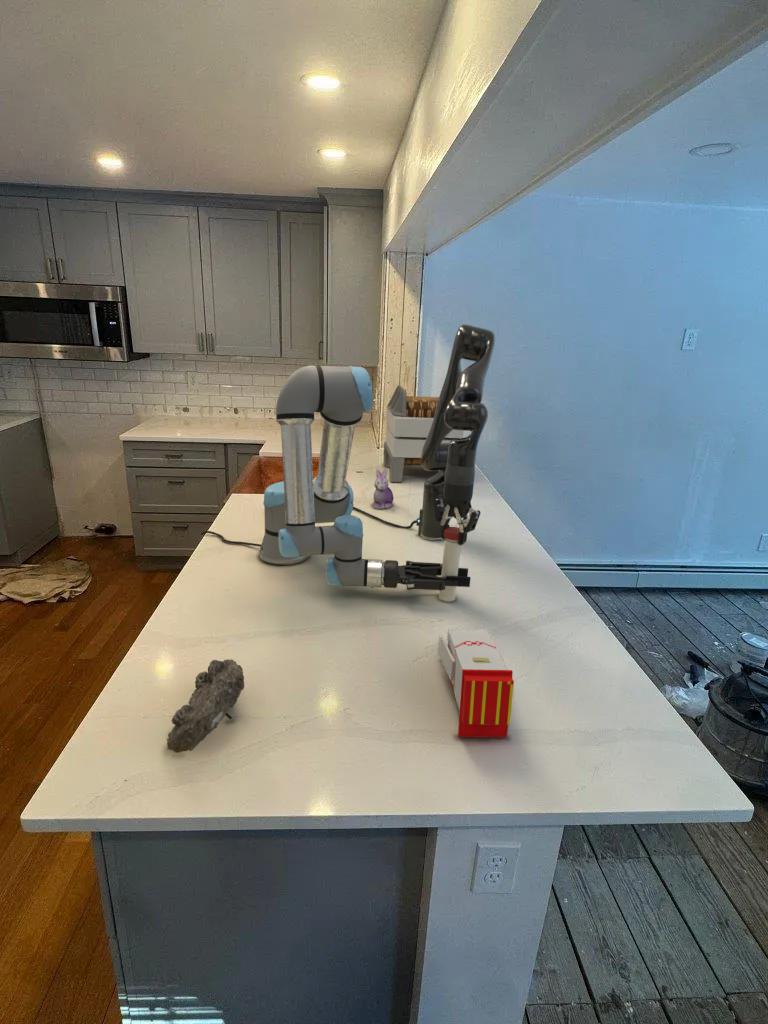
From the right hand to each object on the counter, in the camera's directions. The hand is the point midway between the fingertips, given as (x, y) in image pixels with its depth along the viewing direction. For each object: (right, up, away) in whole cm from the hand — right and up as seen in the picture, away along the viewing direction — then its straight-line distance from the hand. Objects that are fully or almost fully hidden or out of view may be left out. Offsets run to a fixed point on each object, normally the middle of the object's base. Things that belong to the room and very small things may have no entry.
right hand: (453, 540), depth 151 cm
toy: (0, -30, -32) cm, 44 cm away
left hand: (+5, -10, +4) cm, 12 cm away
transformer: (-1, +26, +124) cm, 127 cm away
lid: (0, +3, -1) cm, 3 cm away
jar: (-1, -16, +6) cm, 17 cm away
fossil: (-51, -31, -43) cm, 74 cm away
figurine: (-19, +10, +76) cm, 79 cm away
